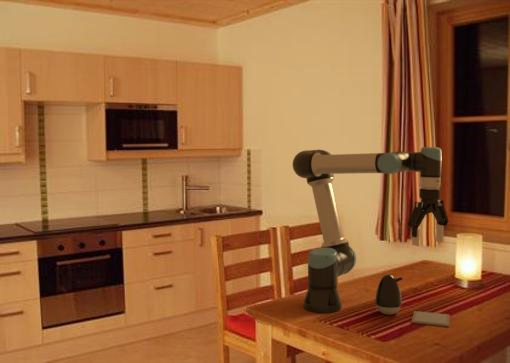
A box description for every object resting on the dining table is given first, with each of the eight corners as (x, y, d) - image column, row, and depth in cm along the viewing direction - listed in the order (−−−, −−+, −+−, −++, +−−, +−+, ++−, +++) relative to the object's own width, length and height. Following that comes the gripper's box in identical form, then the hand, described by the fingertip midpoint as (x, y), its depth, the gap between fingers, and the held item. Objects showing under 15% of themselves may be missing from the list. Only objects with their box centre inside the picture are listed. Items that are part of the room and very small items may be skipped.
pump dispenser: (403, 317, 208) (403, 278, 206) (375, 316, 210) (375, 277, 208) (401, 309, 217) (401, 272, 216) (374, 307, 220) (375, 270, 218)
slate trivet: (411, 323, 201) (411, 321, 201) (414, 312, 213) (414, 310, 213) (448, 327, 197) (448, 325, 197) (449, 316, 209) (449, 314, 209)
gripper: (415, 190, 195) (413, 249, 197) (459, 187, 209) (457, 241, 211) (399, 188, 201) (397, 245, 203) (443, 185, 215) (441, 238, 217)
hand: (427, 243), depth 207 cm, fingers open, 13 cm apart
